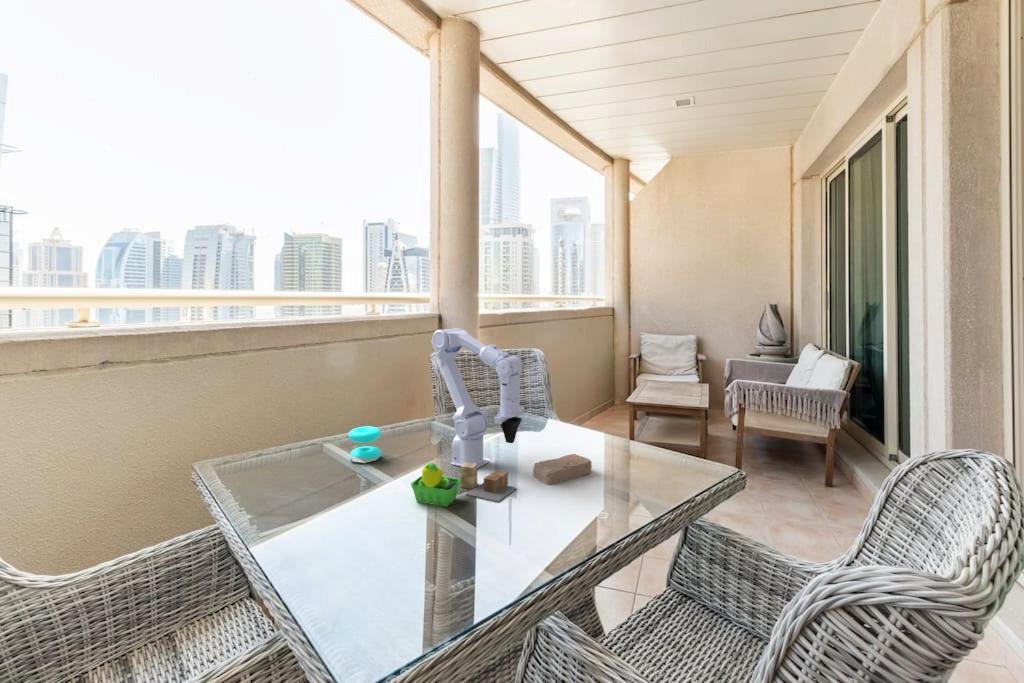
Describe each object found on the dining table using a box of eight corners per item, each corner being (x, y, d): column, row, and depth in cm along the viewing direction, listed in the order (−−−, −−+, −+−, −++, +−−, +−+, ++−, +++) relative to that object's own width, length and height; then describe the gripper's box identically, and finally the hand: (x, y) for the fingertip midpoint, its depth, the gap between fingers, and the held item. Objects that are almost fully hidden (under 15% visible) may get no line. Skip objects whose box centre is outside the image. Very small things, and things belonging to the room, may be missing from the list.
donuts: (372, 434, 156) (342, 433, 157) (373, 465, 157) (344, 463, 158) (385, 425, 166) (356, 424, 167) (386, 455, 167) (357, 453, 168)
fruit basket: (462, 497, 132) (461, 456, 131) (447, 511, 124) (446, 467, 123) (424, 492, 136) (423, 452, 135) (407, 505, 128) (406, 462, 127)
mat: (466, 495, 134) (466, 493, 134) (485, 482, 142) (485, 481, 142) (498, 502, 129) (498, 501, 129) (516, 489, 138) (516, 487, 138)
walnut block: (496, 482, 142) (483, 490, 135) (496, 470, 141) (483, 478, 135) (507, 484, 140) (495, 493, 134) (507, 472, 139) (494, 480, 133)
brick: (547, 486, 140) (547, 470, 140) (531, 477, 147) (531, 461, 147) (592, 475, 149) (593, 460, 148) (575, 467, 156) (575, 452, 156)
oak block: (461, 487, 139) (460, 466, 138) (465, 482, 143) (465, 462, 142) (473, 488, 138) (473, 467, 138) (477, 483, 142) (477, 463, 141)
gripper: (509, 403, 138) (509, 451, 140) (533, 394, 151) (532, 437, 152) (488, 401, 142) (488, 447, 143) (512, 391, 154) (512, 434, 156)
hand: (510, 442), depth 148 cm, fingers closed
